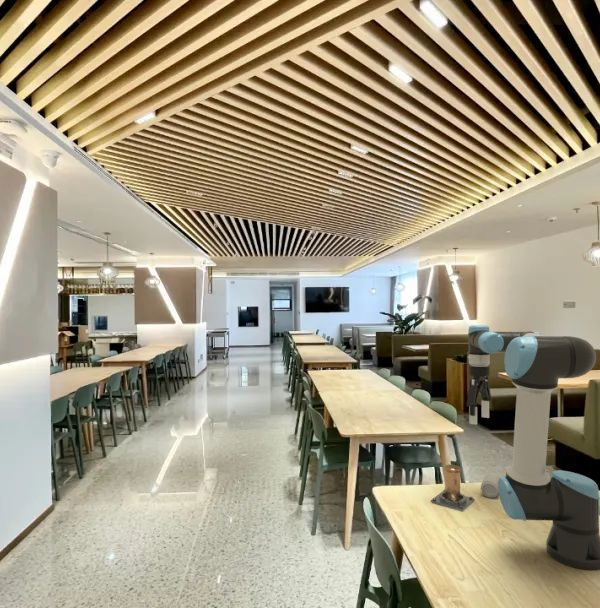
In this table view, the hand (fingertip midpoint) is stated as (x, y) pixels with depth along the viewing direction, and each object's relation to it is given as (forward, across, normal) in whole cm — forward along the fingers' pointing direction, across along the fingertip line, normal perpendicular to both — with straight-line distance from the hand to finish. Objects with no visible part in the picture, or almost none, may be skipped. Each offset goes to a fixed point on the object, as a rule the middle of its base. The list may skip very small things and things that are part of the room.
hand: (479, 420), depth 178 cm
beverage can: (+26, +1, +4) cm, 26 cm away
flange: (+29, +12, -6) cm, 32 cm away
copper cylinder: (+28, +12, -6) cm, 31 cm away
